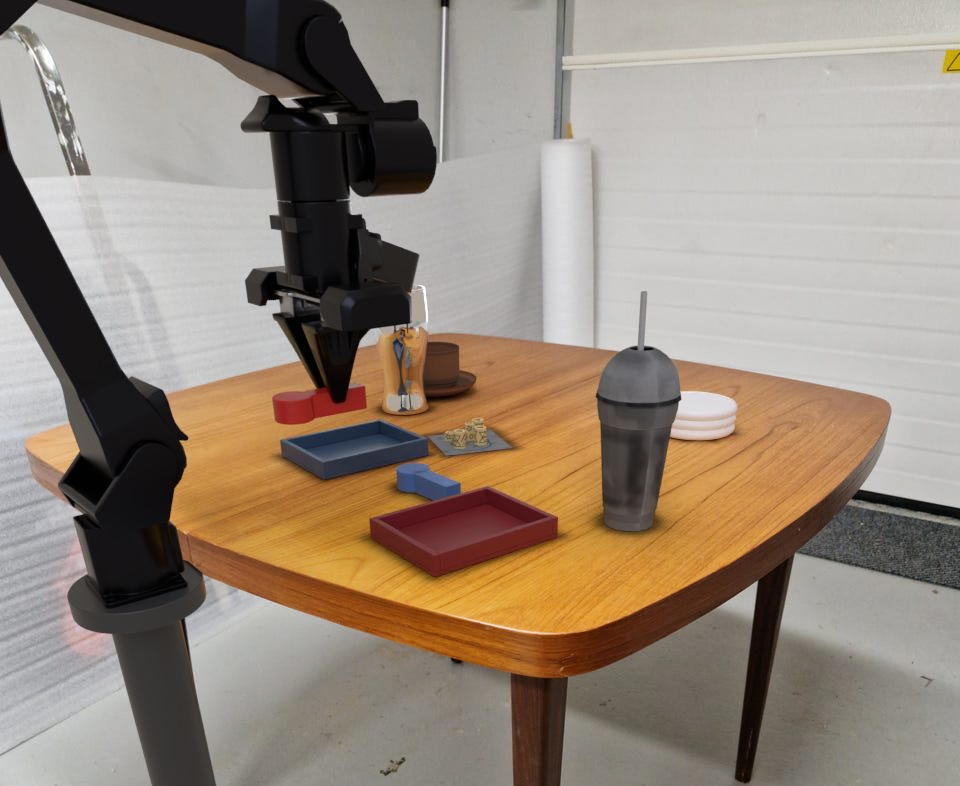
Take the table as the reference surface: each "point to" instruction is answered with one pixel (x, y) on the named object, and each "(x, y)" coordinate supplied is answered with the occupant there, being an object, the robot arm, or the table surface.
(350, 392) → the red spoon
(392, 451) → the blue tray
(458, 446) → the dice set
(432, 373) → the cup and saucer
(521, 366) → the table surface
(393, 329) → the beer glass
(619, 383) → the beverage cup
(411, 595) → the table surface
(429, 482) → the blue spoon
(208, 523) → the table surface
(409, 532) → the red tray
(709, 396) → the white stacked discs
